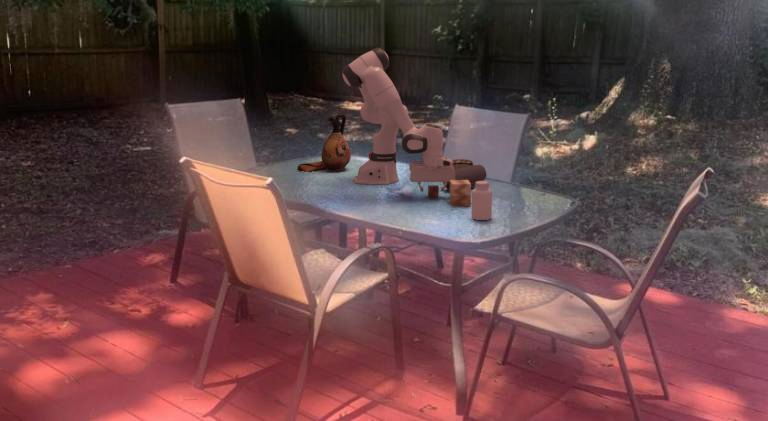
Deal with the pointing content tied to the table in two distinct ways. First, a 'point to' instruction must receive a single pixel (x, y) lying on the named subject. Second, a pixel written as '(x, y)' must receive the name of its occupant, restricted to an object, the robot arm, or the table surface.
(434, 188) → the walnut block
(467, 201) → the block
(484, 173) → the bluetooth speaker
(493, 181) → the table surface
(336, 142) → the ceramic jug
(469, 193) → the tower top
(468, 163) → the brown half-round wedge
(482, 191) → the pill bottle
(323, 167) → the sunglasses case
